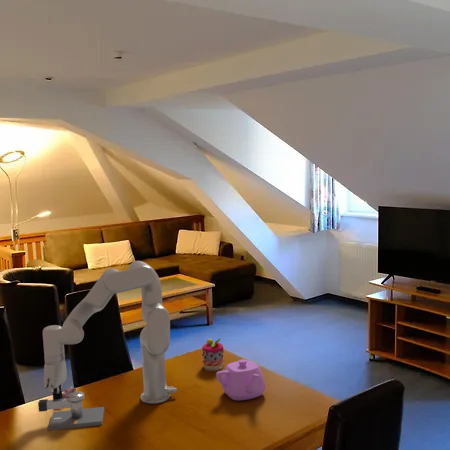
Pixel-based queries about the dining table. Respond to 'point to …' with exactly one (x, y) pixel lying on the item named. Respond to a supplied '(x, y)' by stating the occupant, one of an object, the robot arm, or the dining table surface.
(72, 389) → the video game controller
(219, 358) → the cake
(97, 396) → the dining table surface
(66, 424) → the base plate
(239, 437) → the dining table surface
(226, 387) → the teapot
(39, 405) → the lever
